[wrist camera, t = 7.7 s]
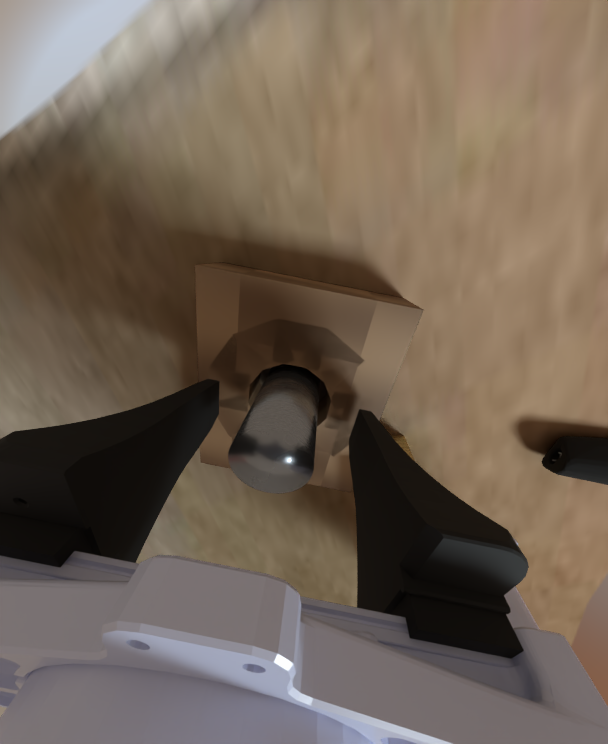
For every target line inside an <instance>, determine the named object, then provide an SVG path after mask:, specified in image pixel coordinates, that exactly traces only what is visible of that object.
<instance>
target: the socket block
mask: <svg viewBox="0 0 608 744" xmlns="http://www.w3.org/2000/svg"><path fill="white" fill-rule="evenodd" d="M195 286H196V321H197V355H198V383H199V382H201V381H203V380H206V379H212V380H217V381H220V383H219V415H218V417H217V419H216V421H215V423H214V425H213V427H212V428H211V430H210V432H209V433H208V435H207V436H206V438H205V439H204V441H203V442H202V443H201V445H200V459H201V463H206V464H211V465H216V466H221V467H226V468H231V467H230V464H229V460H228V453H229V449H230V446H231V444H232V442H233V440H234V438H235V436H236V434H237V433H238V431H239V429H240V427H241V425H242V423H243V421H244V419H245V417H246V415H247V413H248V411H249V409H250V407H251V405H252V404H253V402H254V400H255V398H256V396H257V394H258V392H259V390H260V388H261V386H262V384H263V382H264V380H265V378H266V377H267V375H268V373H269V371H270V369H271V367H274V366H278V365H281V364H288V365H293V366H298V367H303V368H307V369H308V370H310V371H311V372H312V373H313V374H315V375H316V376H317V377H318V378H320V391H319V404H318V418H317V431H316V445H315V458H314V471H313V474H312V476H311V478H310V480H309V481H308V482H307V483H306V484H311V485H316V486H321V487H326V488H331V489H336V490H341V491H346V492H351V491H352V488H353V483H352V476H351V469H350V461H349V438H350V435H351V432H352V429H353V426H354V423H355V420H356V417H357V414H358V411H359V409H362V410H367V411H371V412H372V413H373V414H374V415H375V416H376V418H377V419H378V420H380V418H381V415H382V413H383V410H384V408H385V405H386V403H387V400H388V398H389V395H390V393H391V390H392V388H393V385H394V383H395V380H396V378H397V375H398V373H399V370H400V368H401V365H402V363H403V360H404V358H405V355H406V353H407V350H408V348H409V345H410V343H411V340H412V338H413V335H414V333H415V330H416V328H417V325H418V323H419V320H420V318H421V315H422V313H423V309H421V308H419V307H418V306H416V305H414V304H413V303H411V302H409V301H408V300H406V299H404V298H400V297H395V296H390V295H385V294H380V293H375V292H370V291H364V290H359V289H354V288H349V287H344V286H339V285H334V284H329V283H324V282H319V281H314V280H309V279H304V278H299V277H294V276H288V275H283V274H278V273H273V272H268V271H263V270H258V269H253V268H248V267H243V266H238V265H233V264H228V263H223V262H222V263H210V264H198V265H195Z"/></svg>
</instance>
